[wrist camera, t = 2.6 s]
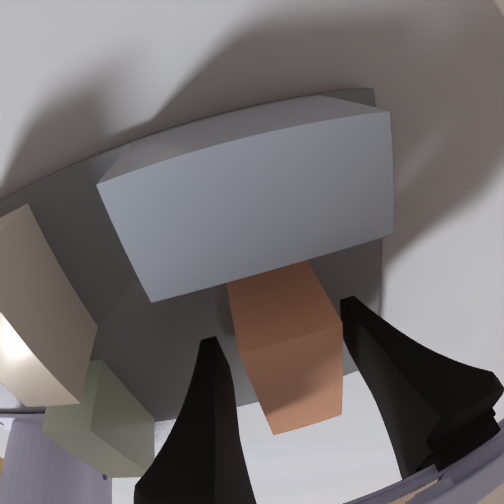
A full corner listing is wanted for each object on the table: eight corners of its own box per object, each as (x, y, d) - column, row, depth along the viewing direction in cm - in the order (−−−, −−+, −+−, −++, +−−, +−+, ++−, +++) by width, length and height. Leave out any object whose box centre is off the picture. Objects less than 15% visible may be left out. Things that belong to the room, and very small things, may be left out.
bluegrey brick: (320, 95, 9) (389, 111, 6) (332, 180, 11) (393, 233, 7) (132, 142, 9) (96, 184, 5) (162, 225, 10) (151, 303, 7)
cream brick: (98, 326, 12) (80, 403, 9) (48, 337, 12) (26, 406, 9) (28, 203, 9) (-30, 265, 6) (-21, 228, 9) (-74, 289, 5)
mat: (369, 358, 17) (372, 364, 17) (111, 420, 17) (110, 426, 17) (366, 87, 9) (373, 88, 9) (-38, 224, 9) (-44, 230, 8)
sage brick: (154, 417, 16) (155, 476, 13) (113, 422, 16) (109, 477, 13) (101, 358, 13) (90, 430, 10) (56, 366, 13) (40, 431, 10)
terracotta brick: (314, 348, 15) (341, 414, 12) (256, 365, 15) (273, 435, 12) (301, 250, 12) (342, 323, 8) (224, 272, 12) (239, 354, 8)
